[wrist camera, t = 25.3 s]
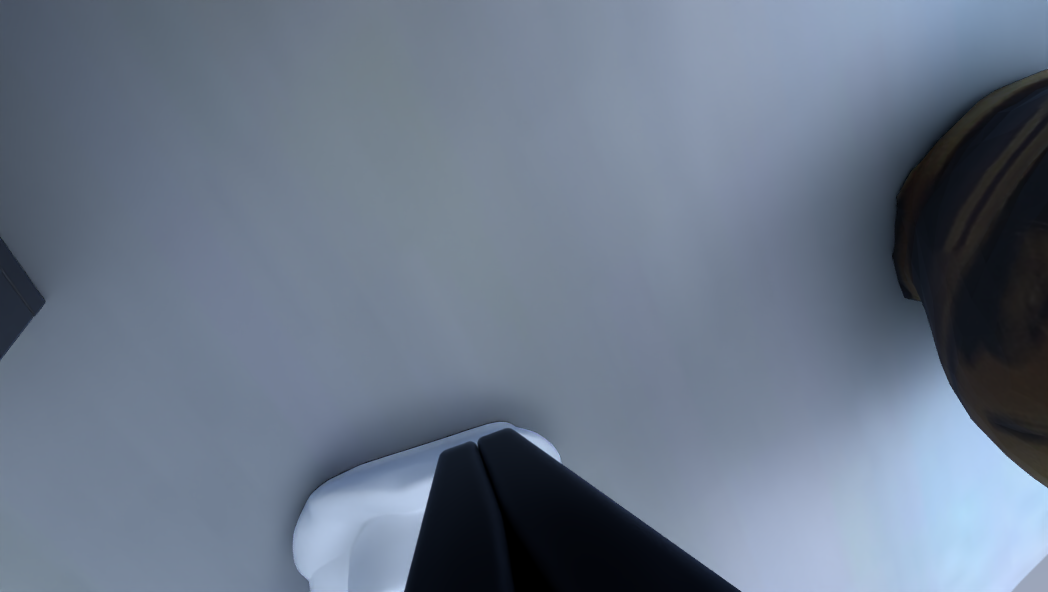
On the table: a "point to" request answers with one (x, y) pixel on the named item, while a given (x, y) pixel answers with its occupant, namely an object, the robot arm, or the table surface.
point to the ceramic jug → (987, 263)
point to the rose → (376, 517)
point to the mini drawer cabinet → (15, 299)
